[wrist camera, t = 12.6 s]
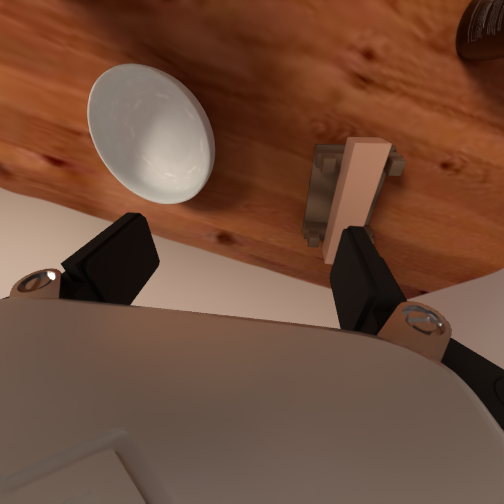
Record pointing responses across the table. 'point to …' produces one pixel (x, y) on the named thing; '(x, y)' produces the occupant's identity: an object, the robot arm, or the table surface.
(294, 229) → the table surface
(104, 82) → the cereal bowl
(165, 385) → the robot arm
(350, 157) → the pink rectangular bar
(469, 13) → the supplement bottle
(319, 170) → the plate with corner blocks
